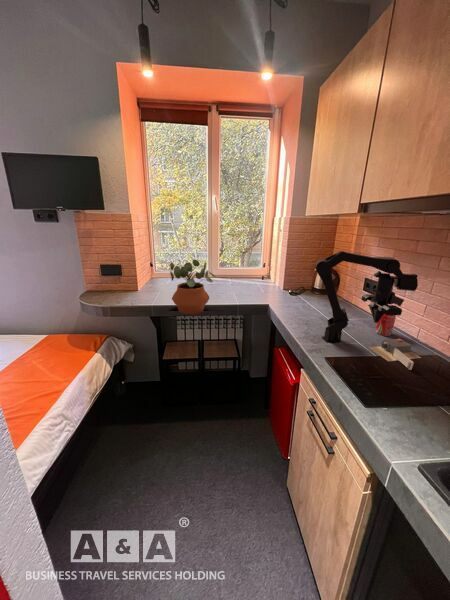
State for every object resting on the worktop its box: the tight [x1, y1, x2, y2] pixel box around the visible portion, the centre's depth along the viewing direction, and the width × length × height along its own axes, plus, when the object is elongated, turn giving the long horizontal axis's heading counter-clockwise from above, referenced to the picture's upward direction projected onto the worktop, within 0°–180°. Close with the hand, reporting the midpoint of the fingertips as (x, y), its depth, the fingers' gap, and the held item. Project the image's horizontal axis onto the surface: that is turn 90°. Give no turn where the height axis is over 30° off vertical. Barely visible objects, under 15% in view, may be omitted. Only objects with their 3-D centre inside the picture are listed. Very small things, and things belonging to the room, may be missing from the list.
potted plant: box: [169, 259, 217, 315], centre depth 145 cm, size 23×28×30 cm
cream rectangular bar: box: [392, 348, 415, 371], centre depth 98 cm, size 11×2×3 cm, turn 179°
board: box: [368, 345, 422, 362], centre depth 106 cm, size 16×11×1 cm
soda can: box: [374, 314, 397, 337], centre depth 121 cm, size 7×7×12 cm
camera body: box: [380, 338, 413, 354], centre depth 107 cm, size 10×6×4 cm, turn 101°
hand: (375, 322), depth 107 cm, fingers closed
